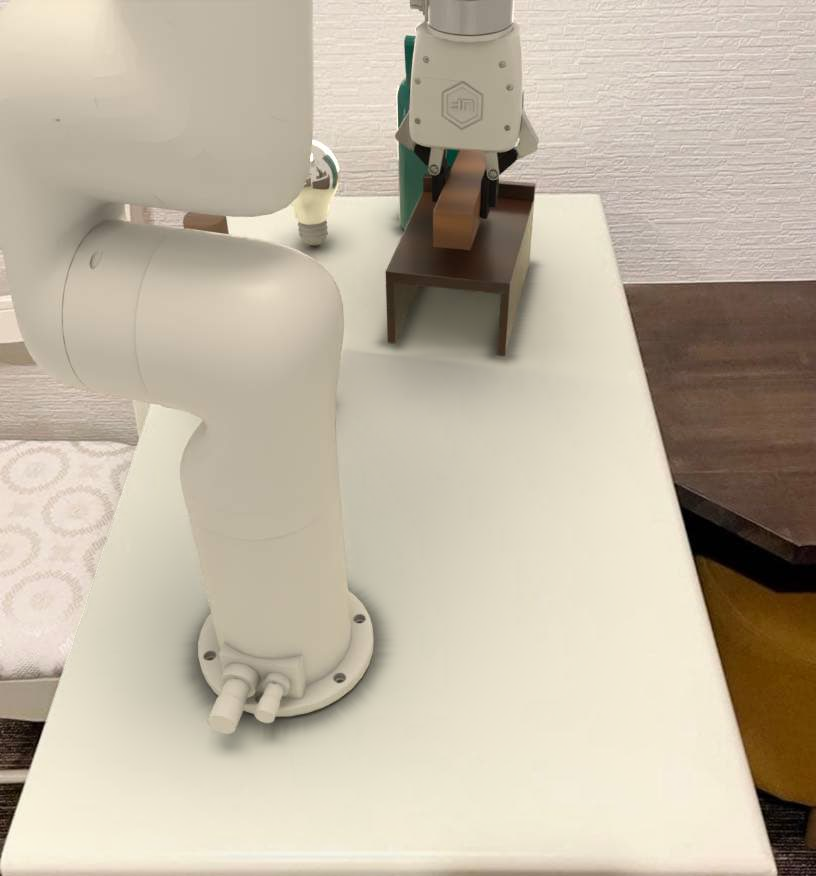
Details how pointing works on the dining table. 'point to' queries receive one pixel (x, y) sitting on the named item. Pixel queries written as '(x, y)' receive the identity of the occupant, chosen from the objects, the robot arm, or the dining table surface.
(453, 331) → the dining table surface
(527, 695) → the dining table surface
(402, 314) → the shelf
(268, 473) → the robot arm
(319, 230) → the light bulb
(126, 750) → the dining table surface
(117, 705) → the dining table surface
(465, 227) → the brown wooden bar
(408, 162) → the green glass bottle
